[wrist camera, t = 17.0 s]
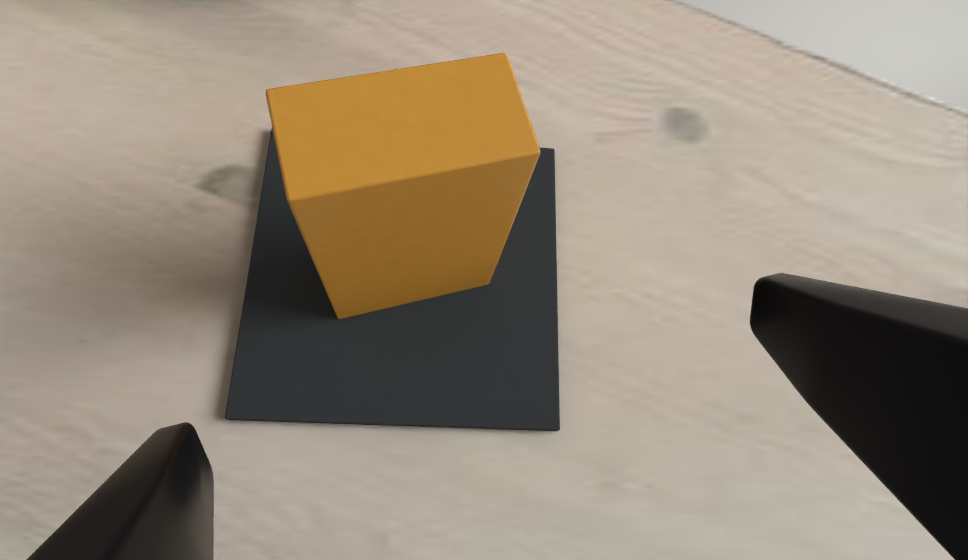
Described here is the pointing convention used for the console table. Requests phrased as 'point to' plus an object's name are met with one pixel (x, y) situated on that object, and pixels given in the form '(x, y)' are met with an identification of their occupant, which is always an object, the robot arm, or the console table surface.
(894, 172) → the console table surface
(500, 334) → the mat
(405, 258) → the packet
